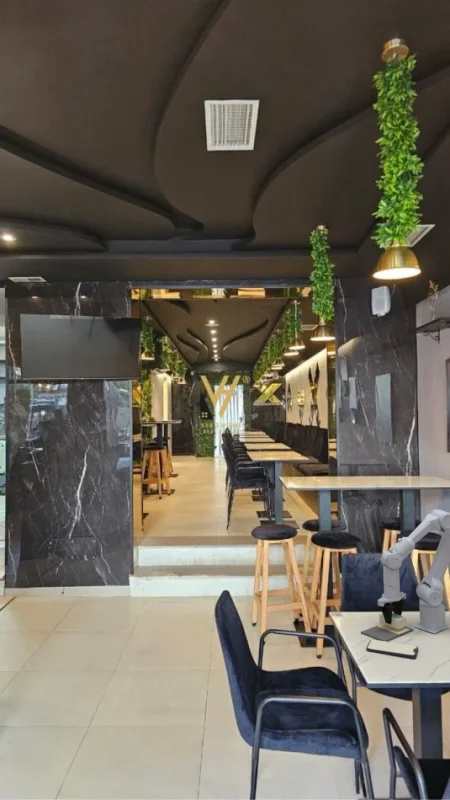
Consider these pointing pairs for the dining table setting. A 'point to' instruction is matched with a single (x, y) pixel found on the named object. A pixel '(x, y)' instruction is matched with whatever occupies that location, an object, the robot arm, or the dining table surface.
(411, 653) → the phone case
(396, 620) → the card box
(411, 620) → the dining table surface
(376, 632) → the mat
